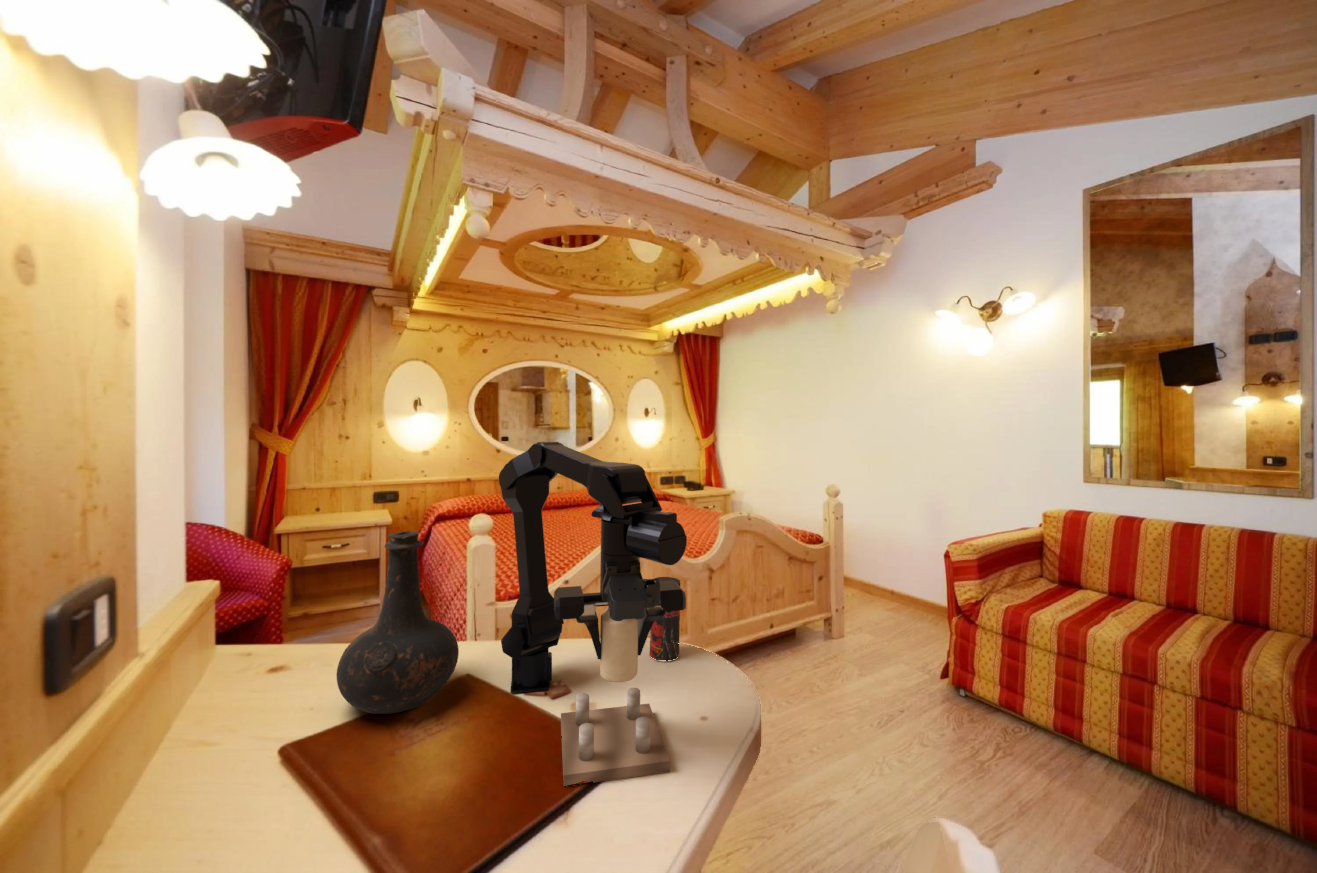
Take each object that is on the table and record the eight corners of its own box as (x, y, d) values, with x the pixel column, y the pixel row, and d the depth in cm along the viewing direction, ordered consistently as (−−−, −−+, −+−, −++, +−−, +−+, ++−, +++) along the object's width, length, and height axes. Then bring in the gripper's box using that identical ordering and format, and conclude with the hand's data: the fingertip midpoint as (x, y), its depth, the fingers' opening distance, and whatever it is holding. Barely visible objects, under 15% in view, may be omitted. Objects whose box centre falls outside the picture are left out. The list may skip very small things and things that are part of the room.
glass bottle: (311, 732, 75) (309, 546, 74) (375, 672, 93) (375, 521, 92) (432, 731, 76) (432, 546, 75) (472, 672, 94) (473, 522, 93)
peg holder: (563, 786, 65) (564, 744, 64) (560, 722, 78) (561, 687, 78) (669, 771, 68) (670, 731, 67) (649, 712, 81) (649, 679, 81)
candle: (632, 685, 71) (633, 614, 70) (595, 680, 72) (595, 611, 71) (641, 666, 76) (642, 601, 76) (606, 662, 77) (606, 598, 77)
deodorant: (684, 659, 100) (685, 584, 99) (656, 664, 97) (657, 587, 97) (671, 646, 105) (672, 575, 105) (645, 651, 103) (646, 578, 102)
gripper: (557, 570, 63) (556, 692, 64) (698, 562, 68) (696, 676, 68) (554, 548, 74) (553, 653, 75) (676, 543, 79) (674, 641, 79)
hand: (618, 656), depth 74 cm, fingers closed on candle, 5 cm apart
